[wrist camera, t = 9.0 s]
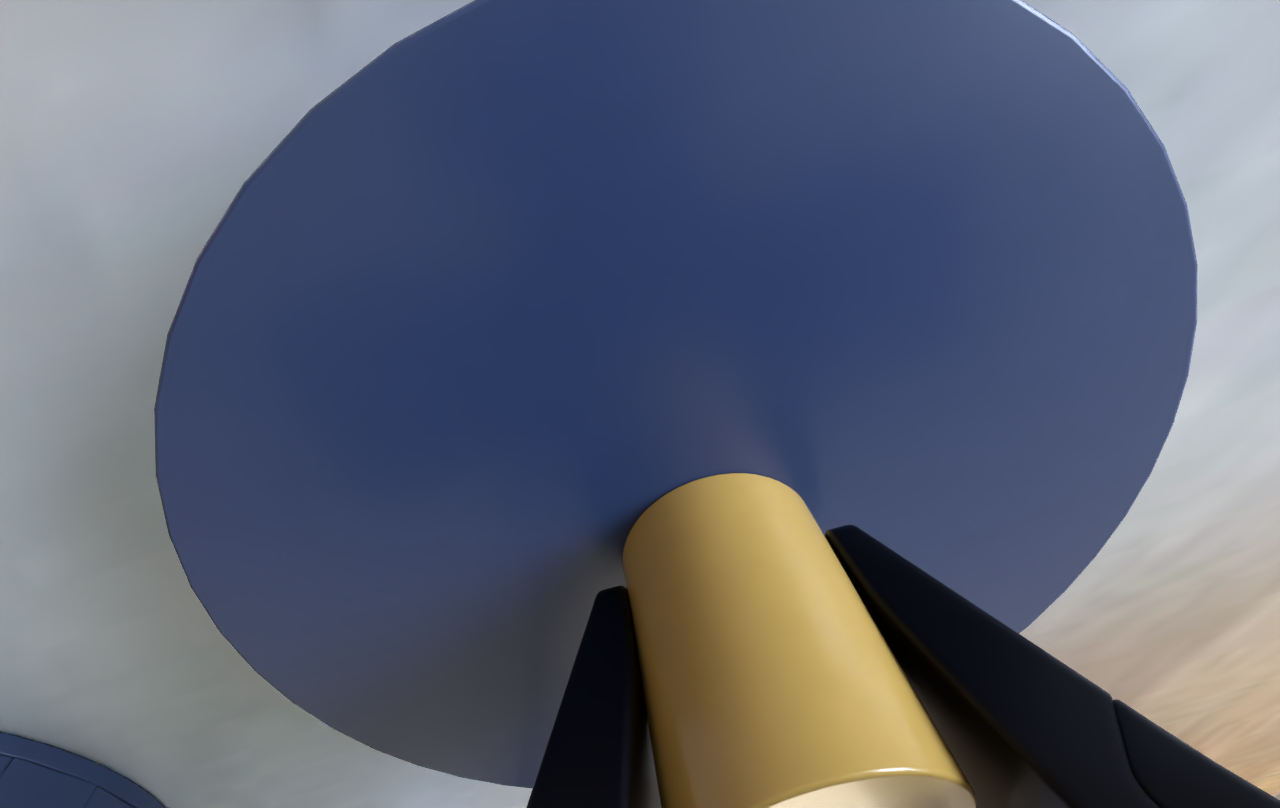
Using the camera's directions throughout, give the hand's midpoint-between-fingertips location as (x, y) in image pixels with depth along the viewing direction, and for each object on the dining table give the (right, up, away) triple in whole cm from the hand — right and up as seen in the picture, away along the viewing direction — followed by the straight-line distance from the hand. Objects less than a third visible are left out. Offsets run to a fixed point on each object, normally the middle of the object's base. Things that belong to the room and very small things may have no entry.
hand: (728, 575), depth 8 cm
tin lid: (0, +1, +1) cm, 1 cm away
